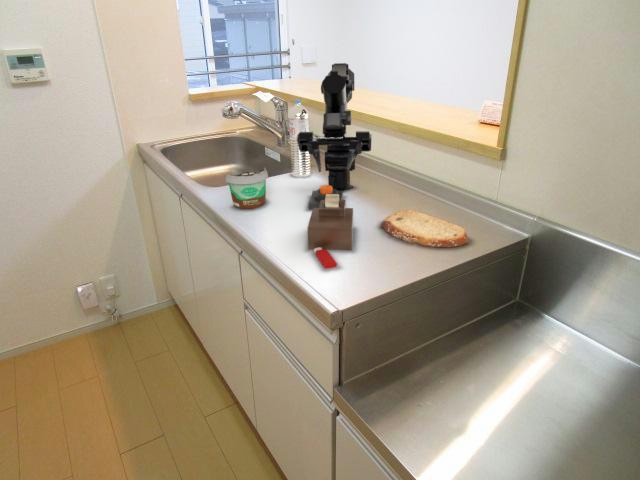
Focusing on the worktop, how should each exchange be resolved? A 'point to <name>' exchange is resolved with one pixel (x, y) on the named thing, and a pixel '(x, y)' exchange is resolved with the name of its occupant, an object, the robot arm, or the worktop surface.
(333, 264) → the lighter
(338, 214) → the stand
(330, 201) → the beige block
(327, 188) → the power button
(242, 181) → the food container
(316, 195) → the power block
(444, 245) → the bread slice
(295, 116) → the water bottle
